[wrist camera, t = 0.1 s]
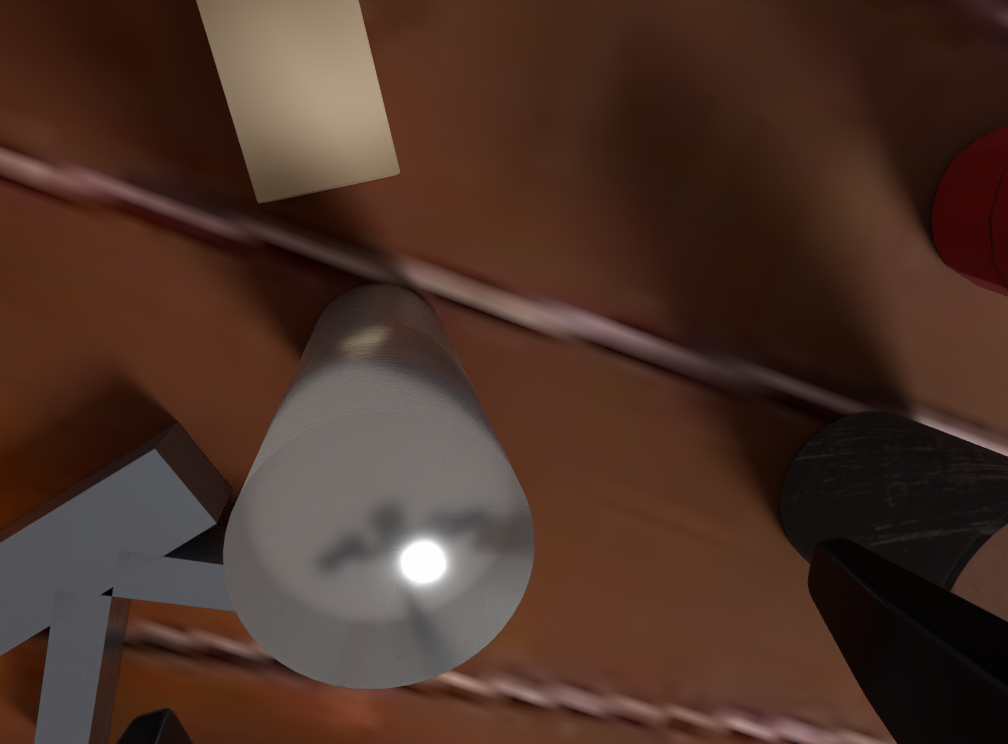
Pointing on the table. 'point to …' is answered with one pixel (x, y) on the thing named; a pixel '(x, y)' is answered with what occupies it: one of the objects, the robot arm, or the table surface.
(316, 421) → the grey metallic cylinder
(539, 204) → the table surface
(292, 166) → the beam
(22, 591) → the grey flat branched piece
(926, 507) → the travel mug
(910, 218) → the table surface
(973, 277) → the plastic cup
